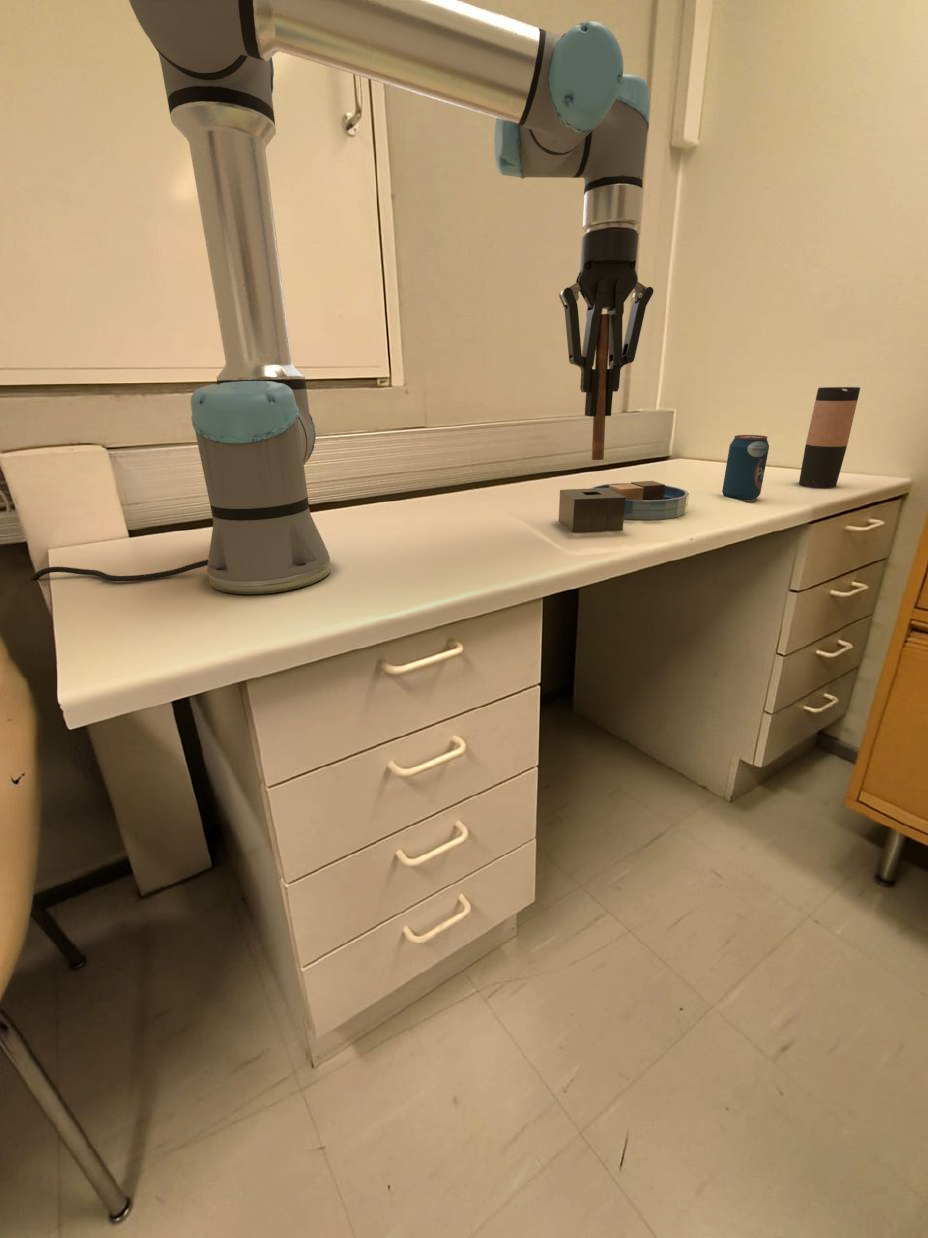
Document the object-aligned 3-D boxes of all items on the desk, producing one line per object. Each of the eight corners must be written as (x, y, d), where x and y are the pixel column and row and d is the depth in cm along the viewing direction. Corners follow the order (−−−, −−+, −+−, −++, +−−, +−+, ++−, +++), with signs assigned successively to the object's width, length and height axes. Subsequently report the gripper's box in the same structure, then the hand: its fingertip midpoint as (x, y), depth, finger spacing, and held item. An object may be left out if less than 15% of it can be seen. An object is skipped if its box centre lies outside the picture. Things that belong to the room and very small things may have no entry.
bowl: (606, 526, 94) (608, 502, 93) (575, 505, 110) (577, 484, 108) (703, 522, 96) (707, 498, 94) (660, 501, 112) (662, 481, 110)
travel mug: (805, 481, 129) (826, 386, 121) (842, 485, 124) (866, 386, 116) (791, 485, 125) (811, 387, 117) (829, 489, 119) (853, 387, 111)
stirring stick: (592, 460, 86) (598, 314, 80) (590, 459, 88) (596, 316, 82) (604, 459, 86) (610, 313, 80) (602, 459, 88) (608, 315, 81)
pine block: (618, 514, 99) (620, 489, 97) (606, 509, 103) (608, 484, 101) (641, 512, 100) (643, 487, 98) (628, 507, 104) (631, 483, 102)
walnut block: (640, 510, 101) (643, 486, 99) (628, 505, 105) (630, 482, 103) (662, 509, 102) (665, 484, 100) (649, 504, 106) (652, 480, 104)
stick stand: (572, 537, 89) (574, 499, 86) (558, 525, 96) (559, 489, 94) (622, 535, 89) (626, 497, 87) (604, 522, 97) (607, 487, 94)
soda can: (761, 503, 109) (774, 438, 104) (722, 501, 111) (733, 437, 106) (756, 496, 115) (767, 434, 110) (719, 494, 117) (729, 434, 112)
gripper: (651, 237, 80) (634, 412, 90) (549, 237, 79) (544, 415, 88) (675, 224, 74) (654, 415, 83) (564, 224, 72) (556, 418, 82)
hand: (597, 415), depth 86 cm, fingers closed on stirring stick, 2 cm apart
